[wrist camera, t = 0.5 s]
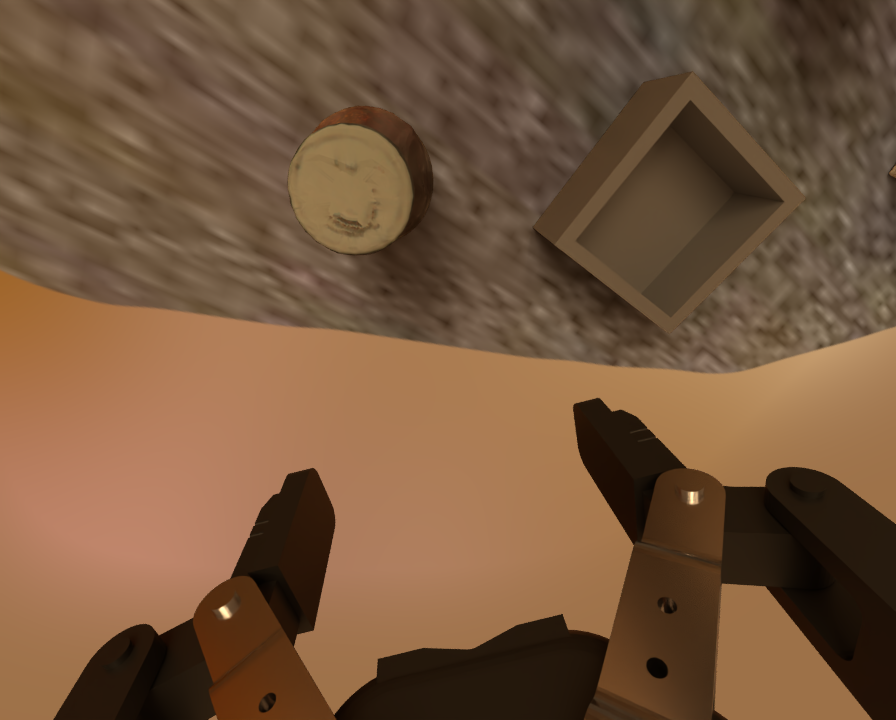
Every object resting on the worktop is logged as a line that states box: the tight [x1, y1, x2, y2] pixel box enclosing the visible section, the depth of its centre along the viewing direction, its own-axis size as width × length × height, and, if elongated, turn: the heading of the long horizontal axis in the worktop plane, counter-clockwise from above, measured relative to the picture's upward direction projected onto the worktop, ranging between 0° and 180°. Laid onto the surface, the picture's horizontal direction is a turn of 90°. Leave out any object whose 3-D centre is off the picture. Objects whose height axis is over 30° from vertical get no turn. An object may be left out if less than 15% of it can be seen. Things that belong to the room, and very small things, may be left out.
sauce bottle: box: [288, 106, 433, 255], centre depth 22 cm, size 6×6×20 cm
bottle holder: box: [533, 71, 806, 334], centre depth 31 cm, size 12×12×6 cm
